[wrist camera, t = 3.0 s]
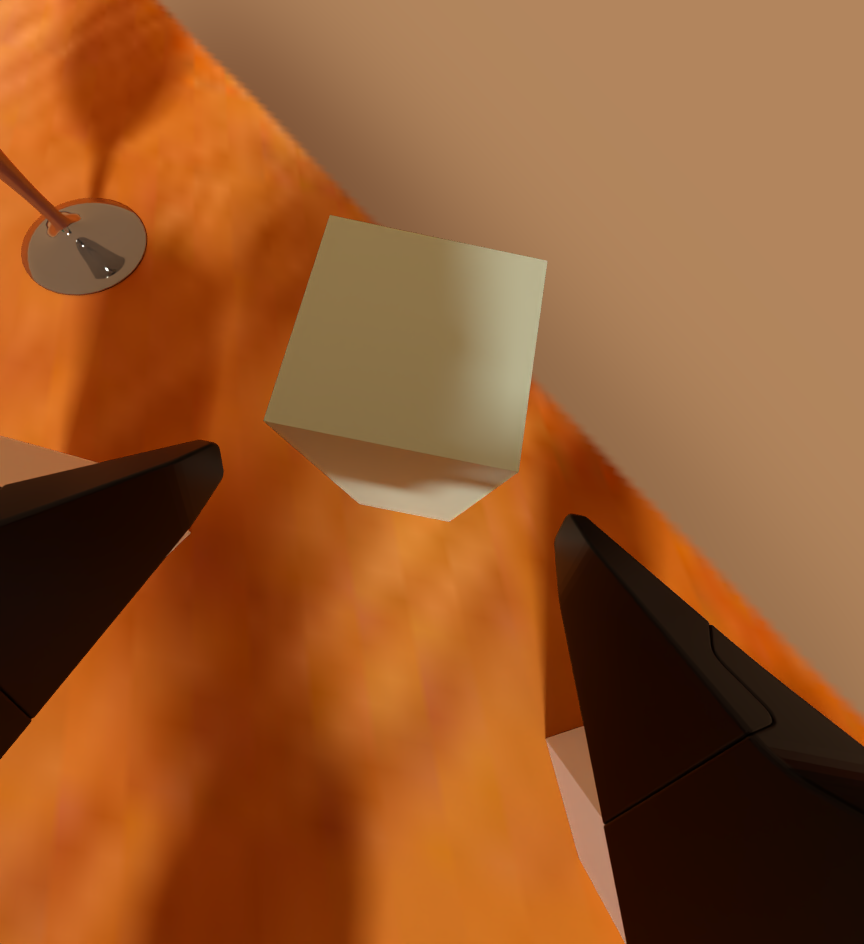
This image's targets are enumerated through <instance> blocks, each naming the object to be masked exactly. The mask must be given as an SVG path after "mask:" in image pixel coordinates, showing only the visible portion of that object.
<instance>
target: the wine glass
mask: <svg viewBox="0 0 864 944" xmlns="http://www.w3.org/2000/svg"><path fill="white" fill-rule="evenodd" d="M0 179H1V180H2V181H3V182H4V183H6V184H7V185H8V186H10V187H11V188H12V189H13V190H14V191H16V192H17V193H18V194H19V195H21V196H22V197H23V198H24V199H25V200H26V201H28V202H29V203H30V204H31V205H32V206H33V207H34V208H36V209H37V210H38V211H39V212H40V213H41V214H42V215H41V216H40V217H39V218H38V219H37V220H36V221H35V222H34V223H33V224H32V226H31V227H30V228H29V230H28V231H27V233H26V235H25V237H24V240H23V243H22V249H21V257H22V263H23V265H24V267H25V270H26V272H27V273H28V274H29V276H30V277H31V278H32V279H33V280H34V281H35V282H36V283H37V284H38V285H40V286H42V287H44V288H45V289H47V290H50V291H53V292H55V293H59V294H65V295H86V294H92V293H96V292H100V291H103V290H106V289H108V288H111V287H113V286H114V285H116V284H118V283H120V282H121V281H123V280H124V279H125V278H126V277H128V276H129V275H130V274H131V273H132V272H133V271H134V270H135V269H136V268H137V266H138V265H139V263H140V262H141V260H142V258H143V256H144V253H145V250H146V245H147V235H146V231H145V227H144V225H143V223H142V221H141V220H140V218H139V217H138V216H137V215H136V214H135V213H134V212H133V211H132V210H130V209H129V208H127V207H126V206H124V205H122V204H120V203H118V202H115V201H112V200H107V199H102V198H83V199H77V200H72V201H68V202H65V203H63V204H60V205H58V206H56V207H54V206H53V205H52V204H51V203H50V202H49V201H48V200H47V199H46V198H45V197H44V196H43V195H42V194H41V193H40V192H39V191H38V190H37V189H36V188H35V187H34V186H33V185H32V184H31V183H30V182H29V181H28V180H27V179H26V178H25V176H24V175H23V174H22V173H21V172H20V171H19V170H18V169H17V168H16V166H15V165H14V164H13V163H12V162H11V161H10V160H9V159H8V157H7V156H6V155H5V154H4V153H3V152H2V150H1V149H0Z"/></svg>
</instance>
